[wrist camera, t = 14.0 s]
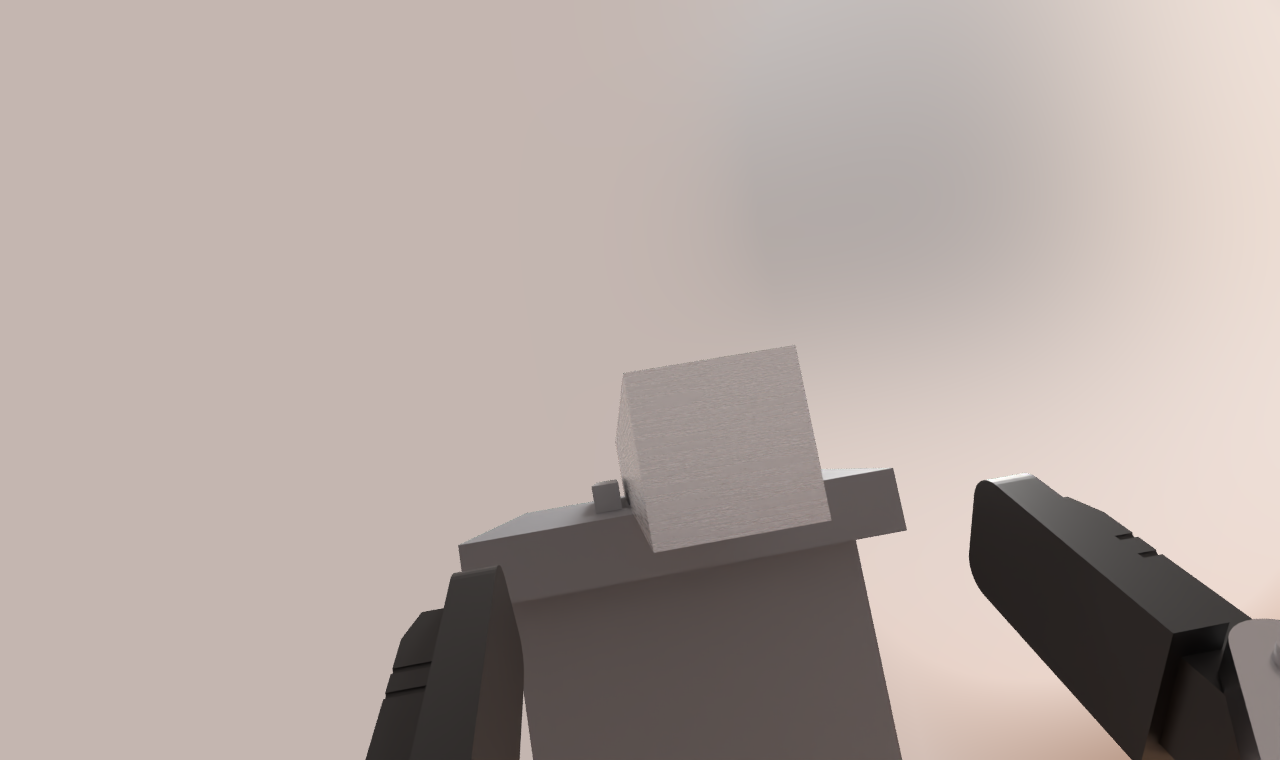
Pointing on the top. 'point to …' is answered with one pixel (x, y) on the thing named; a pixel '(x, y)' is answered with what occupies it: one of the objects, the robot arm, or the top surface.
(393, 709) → the robot arm
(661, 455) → the steel bar
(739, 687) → the stand
